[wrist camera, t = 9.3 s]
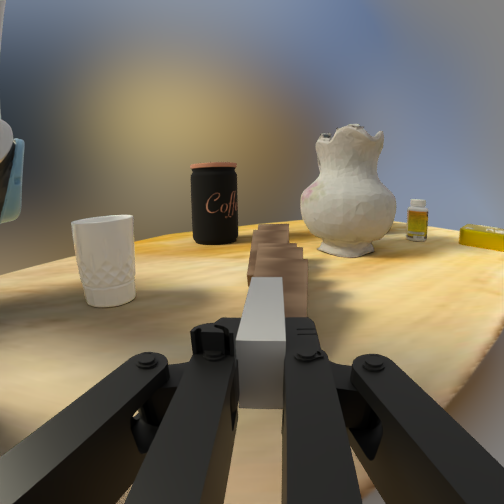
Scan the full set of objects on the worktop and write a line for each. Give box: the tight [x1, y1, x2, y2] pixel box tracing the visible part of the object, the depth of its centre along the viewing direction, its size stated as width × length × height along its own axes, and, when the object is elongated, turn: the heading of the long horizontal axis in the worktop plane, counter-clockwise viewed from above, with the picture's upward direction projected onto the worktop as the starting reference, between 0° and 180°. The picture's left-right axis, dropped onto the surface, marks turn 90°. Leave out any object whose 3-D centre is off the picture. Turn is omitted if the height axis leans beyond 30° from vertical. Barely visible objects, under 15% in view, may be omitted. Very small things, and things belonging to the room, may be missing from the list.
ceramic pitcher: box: [301, 124, 396, 258], centre depth 60 cm, size 22×20×25 cm
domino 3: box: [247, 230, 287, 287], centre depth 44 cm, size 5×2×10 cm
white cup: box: [71, 215, 136, 307], centre depth 35 cm, size 8×8×10 cm
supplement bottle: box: [406, 199, 428, 242], centre depth 71 cm, size 6×6×10 cm
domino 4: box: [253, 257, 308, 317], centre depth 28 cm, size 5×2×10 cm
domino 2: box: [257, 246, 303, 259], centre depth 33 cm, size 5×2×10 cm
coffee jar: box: [191, 162, 238, 245], centre depth 72 cm, size 11×11×18 cm
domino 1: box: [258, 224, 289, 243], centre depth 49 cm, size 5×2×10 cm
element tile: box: [459, 224, 504, 252], centre depth 65 cm, size 15×15×5 cm
